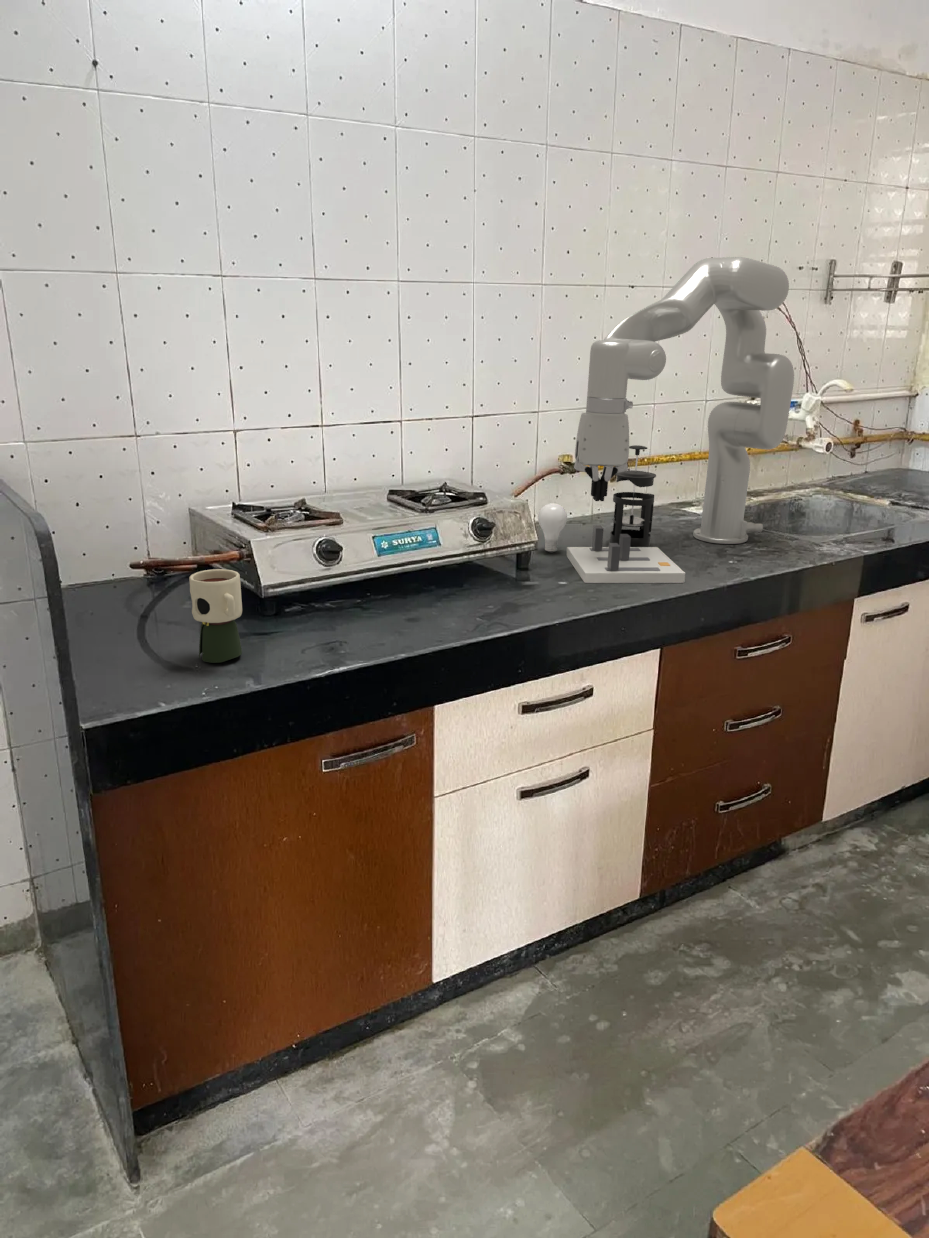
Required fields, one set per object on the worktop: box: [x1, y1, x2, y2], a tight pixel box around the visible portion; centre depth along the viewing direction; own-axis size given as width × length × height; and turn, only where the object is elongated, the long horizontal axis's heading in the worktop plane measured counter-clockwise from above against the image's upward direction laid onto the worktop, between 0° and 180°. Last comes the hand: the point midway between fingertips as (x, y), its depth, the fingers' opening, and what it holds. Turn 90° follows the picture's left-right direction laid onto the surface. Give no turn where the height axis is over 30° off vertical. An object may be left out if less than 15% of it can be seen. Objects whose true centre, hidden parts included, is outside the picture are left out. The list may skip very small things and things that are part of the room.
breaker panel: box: [566, 546, 686, 584], centre depth 180 cm, size 20×20×2 cm
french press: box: [607, 444, 657, 547], centre depth 193 cm, size 12×9×23 cm
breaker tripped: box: [619, 534, 631, 560], centre depth 179 cm, size 2×3×5 cm, turn 4°
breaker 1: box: [591, 524, 604, 550], centre depth 186 cm, size 2×3×5 cm, turn 4°
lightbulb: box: [537, 502, 568, 554], centre depth 190 cm, size 6×6×11 cm
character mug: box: [188, 568, 243, 664], centre depth 128 cm, size 11×7×13 cm, turn 39°
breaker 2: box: [607, 542, 620, 570], centre depth 172 cm, size 2×3×5 cm, turn 4°
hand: (598, 499), depth 175 cm, fingers closed
